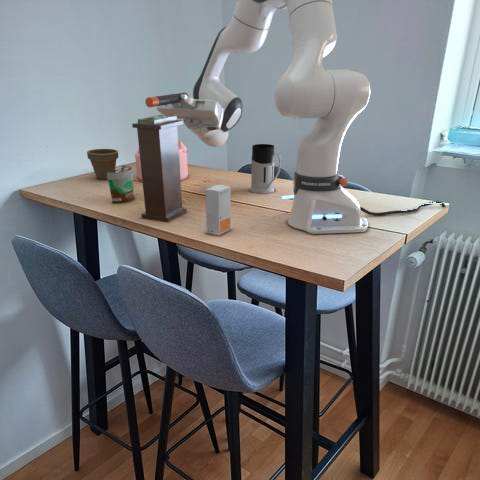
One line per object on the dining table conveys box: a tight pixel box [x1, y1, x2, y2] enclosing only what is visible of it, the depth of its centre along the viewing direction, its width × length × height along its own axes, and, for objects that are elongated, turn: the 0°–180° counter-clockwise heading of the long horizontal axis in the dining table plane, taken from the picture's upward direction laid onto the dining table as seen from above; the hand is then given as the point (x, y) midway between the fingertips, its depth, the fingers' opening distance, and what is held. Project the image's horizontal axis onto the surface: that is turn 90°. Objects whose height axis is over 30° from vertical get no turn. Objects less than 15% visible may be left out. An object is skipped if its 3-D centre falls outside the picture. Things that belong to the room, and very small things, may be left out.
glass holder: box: [249, 143, 282, 194], centre depth 161 cm, size 9×14×15 cm, turn 33°
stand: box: [131, 114, 188, 223], centre depth 135 cm, size 12×9×27 cm
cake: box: [134, 139, 189, 181], centre depth 180 cm, size 20×20×14 cm
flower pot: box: [86, 148, 119, 181], centre depth 180 cm, size 12×11×10 cm
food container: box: [107, 164, 135, 204], centre depth 153 cm, size 12×6×10 cm, turn 168°
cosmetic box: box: [205, 184, 232, 236], centre depth 125 cm, size 6×4×12 cm
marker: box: [144, 92, 190, 108], centre depth 131 cm, size 19×2×2 cm, turn 156°
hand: (176, 96), depth 135 cm, fingers closed on marker, 2 cm apart
